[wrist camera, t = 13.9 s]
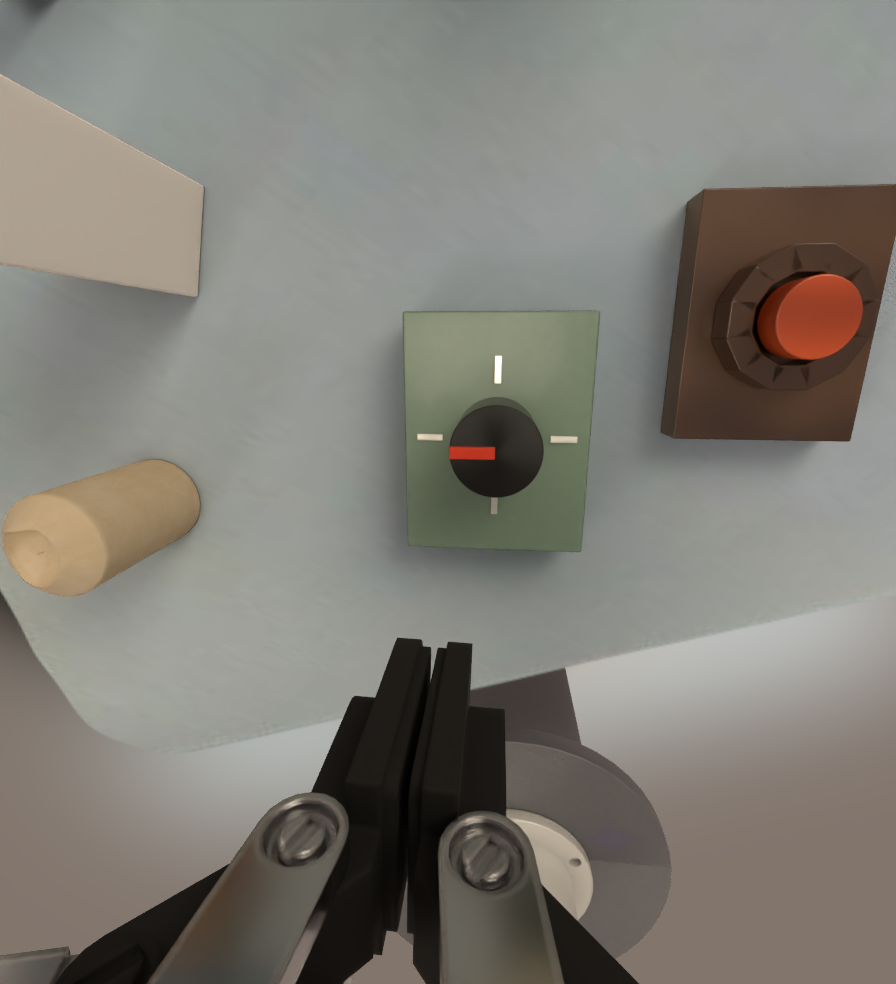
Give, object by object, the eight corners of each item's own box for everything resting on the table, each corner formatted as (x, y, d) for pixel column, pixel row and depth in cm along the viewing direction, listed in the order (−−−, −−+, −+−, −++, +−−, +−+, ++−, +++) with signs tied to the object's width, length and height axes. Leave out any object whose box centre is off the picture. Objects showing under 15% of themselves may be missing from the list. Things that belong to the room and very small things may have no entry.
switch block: (824, 434, 29) (875, 448, 25) (660, 432, 29) (684, 444, 26) (873, 197, 25) (940, 170, 22) (687, 201, 26) (719, 176, 22)
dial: (539, 397, 27) (546, 406, 22) (535, 478, 28) (542, 500, 24) (455, 396, 27) (448, 405, 23) (455, 476, 28) (448, 498, 24)
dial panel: (573, 534, 32) (581, 553, 29) (415, 529, 33) (406, 547, 30) (590, 314, 28) (601, 310, 25) (411, 315, 29) (401, 311, 26)
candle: (106, 483, 34) (-50, 536, 24) (167, 443, 33) (29, 482, 23) (156, 551, 35) (26, 628, 25) (217, 515, 34) (105, 581, 24)
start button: (829, 359, 24) (853, 360, 23) (750, 358, 25) (769, 359, 23) (845, 278, 23) (872, 272, 22) (763, 279, 24) (783, 273, 22)
